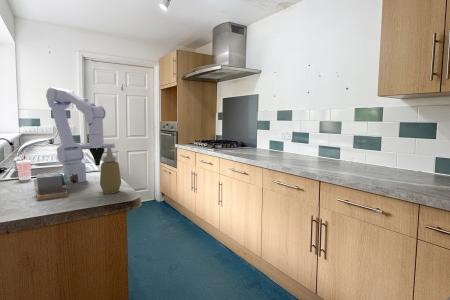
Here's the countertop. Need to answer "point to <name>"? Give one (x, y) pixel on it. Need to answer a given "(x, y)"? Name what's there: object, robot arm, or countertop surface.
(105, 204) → the countertop surface
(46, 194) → the sharpening stone
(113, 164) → the squeeze bottle
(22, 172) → the beverage cup
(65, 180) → the shaft
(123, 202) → the countertop surface
